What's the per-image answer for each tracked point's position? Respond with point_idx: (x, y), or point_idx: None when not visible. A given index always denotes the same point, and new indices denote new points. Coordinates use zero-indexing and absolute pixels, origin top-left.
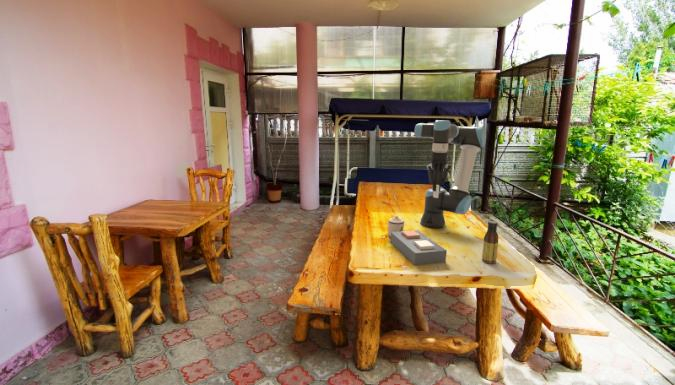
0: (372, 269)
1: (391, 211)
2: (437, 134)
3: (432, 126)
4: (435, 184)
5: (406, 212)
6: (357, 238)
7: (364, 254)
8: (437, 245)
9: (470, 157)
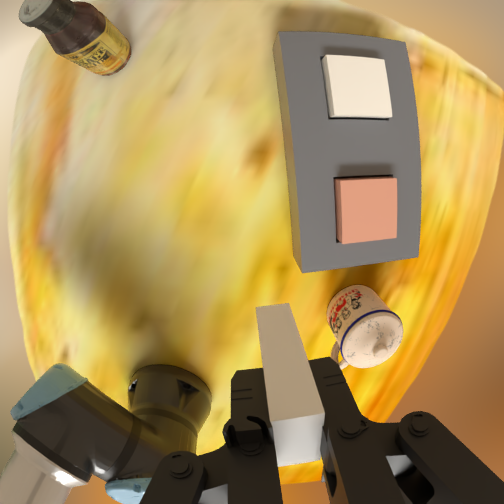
0: (479, 75)
1: None
2: None
3: None
4: (358, 423)
5: None
6: (463, 282)
7: (483, 163)
8: (295, 81)
9: None
